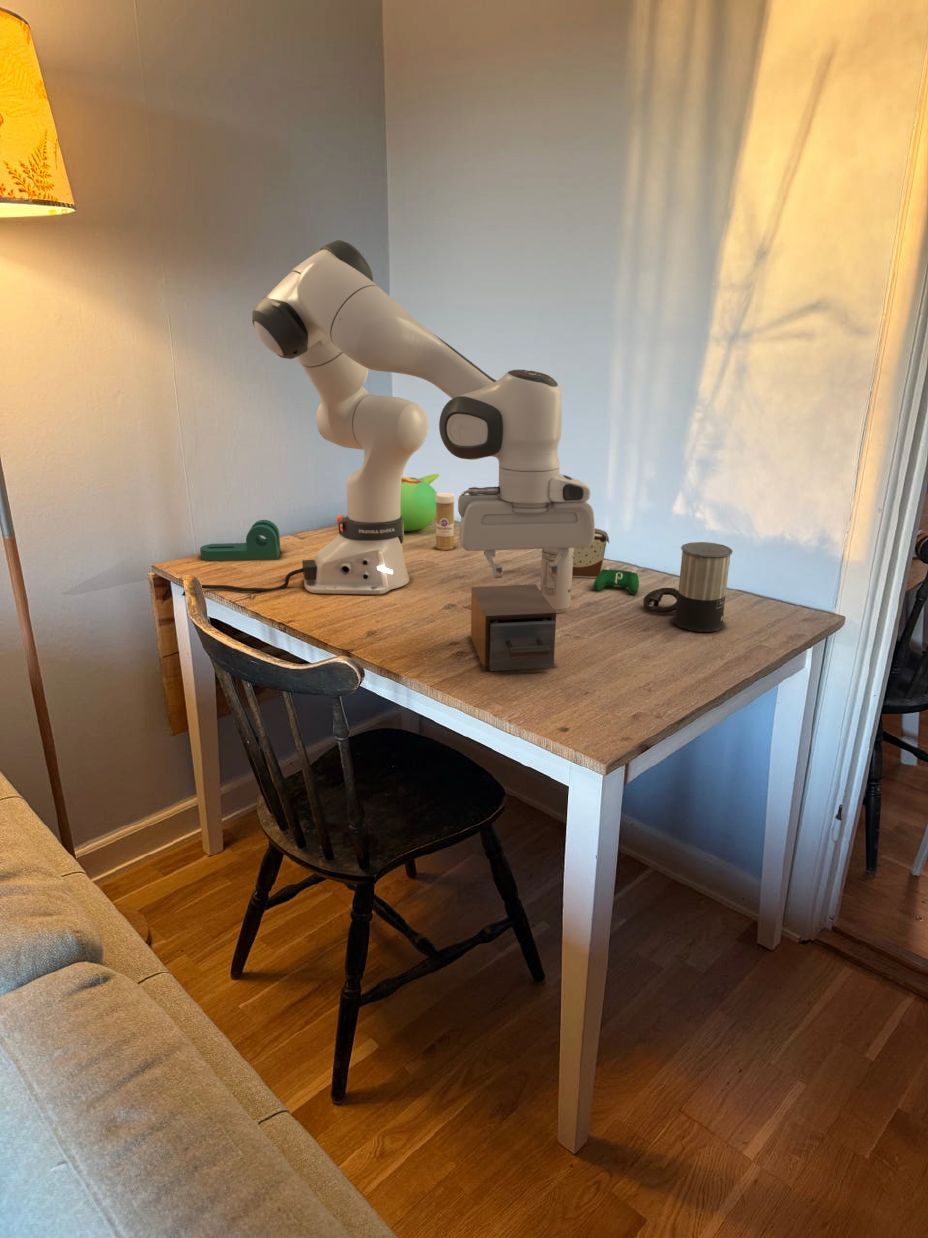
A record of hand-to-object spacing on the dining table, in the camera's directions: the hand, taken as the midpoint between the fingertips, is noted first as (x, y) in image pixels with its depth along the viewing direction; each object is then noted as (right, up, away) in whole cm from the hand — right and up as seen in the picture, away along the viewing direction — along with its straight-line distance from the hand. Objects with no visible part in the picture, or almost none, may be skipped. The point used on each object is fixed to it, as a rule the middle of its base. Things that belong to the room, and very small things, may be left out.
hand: (525, 576), depth 126 cm
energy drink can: (+9, -5, +37) cm, 38 cm away
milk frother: (+33, -6, +33) cm, 47 cm away
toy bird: (-25, +17, +94) cm, 98 cm away
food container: (+16, +4, +59) cm, 61 cm away
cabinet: (-1, -12, +16) cm, 21 cm away
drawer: (-1, -13, +11) cm, 17 cm away
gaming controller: (+23, 0, +48) cm, 54 cm away
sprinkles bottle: (-14, +11, +77) cm, 79 cm away
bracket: (-62, +8, +69) cm, 94 cm away
